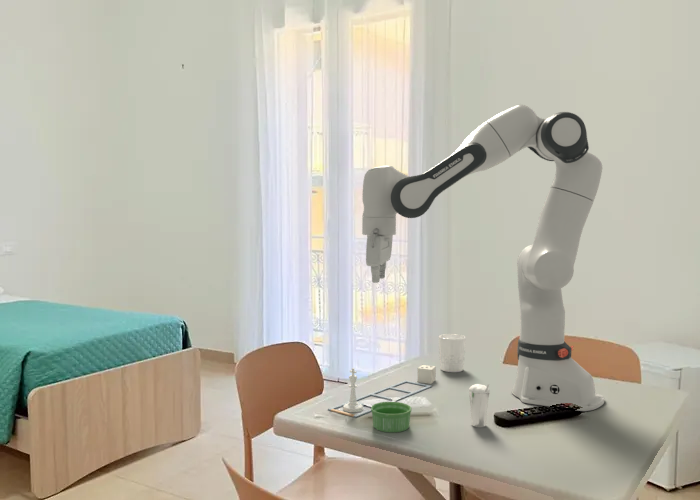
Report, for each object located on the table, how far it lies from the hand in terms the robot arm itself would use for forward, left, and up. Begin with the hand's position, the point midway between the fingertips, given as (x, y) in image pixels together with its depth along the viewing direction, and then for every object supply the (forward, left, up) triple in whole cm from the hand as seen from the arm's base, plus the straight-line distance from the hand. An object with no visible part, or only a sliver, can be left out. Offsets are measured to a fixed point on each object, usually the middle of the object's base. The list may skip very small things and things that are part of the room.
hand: (378, 280), depth 173 cm
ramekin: (-20, +22, -29) cm, 42 cm away
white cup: (-5, -30, -29) cm, 42 cm away
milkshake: (-35, +9, -29) cm, 47 cm away
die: (-6, -15, -29) cm, 33 cm away
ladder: (-6, +6, -29) cm, 30 cm away
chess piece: (-6, +18, -29) cm, 35 cm away
